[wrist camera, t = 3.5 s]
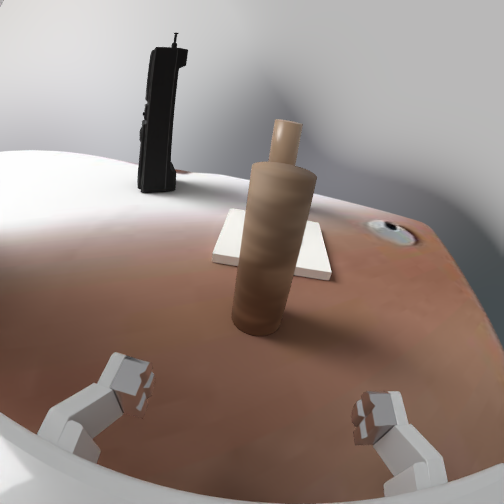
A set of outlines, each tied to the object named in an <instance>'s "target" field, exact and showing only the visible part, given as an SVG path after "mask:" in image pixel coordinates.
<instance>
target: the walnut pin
mask: <svg viewBox="0 0 504 504" xmlns="http://www.w3.org/2000/svg"><path fill="white" fill-rule="evenodd" d="M316 180H317V176H316V175H315V174H314V173H312V172H310V171H308V170H306V169H303V168H301V167H297V166H294V165H290V164H285V163H278V162H258V163H254V164H253V165H252V170H251V177H250V184H249V191H248V198H247V205H246V212H245V219H244V226H243V233H242V241H241V248H240V255H239V263H238V270H237V278H236V285H235V293H234V300H233V308H232V321H233V323H234V325H235V326H236V327H237V328H238V329H239V330H241V331H243V332H245V333H247V334H250V335H255V336H265V335H269V334H271V333H273V332H275V331H276V330H277V329H278V328H279V326H280V323H281V320H282V316H283V313H284V309H285V305H286V302H287V298H288V294H289V291H290V287H291V283H292V279H293V275H294V272H295V268H296V264H297V260H298V256H299V252H300V248H301V244H302V240H303V236H304V232H305V227H306V223H307V219H308V215H309V211H310V206H311V202H312V197H313V193H314V189H315V184H316Z"/></svg>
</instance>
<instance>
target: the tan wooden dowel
mask: <svg viewBox="0 0 504 504" xmlns="http://www.w3.org/2000/svg"><path fill="white" fill-rule="evenodd" d="M302 126H303V124H300V123H297V122H293V121H287V120H280V119H275V124H274V130H273V137H272V142H271V149H270V155H269V161H268V162H278V163H285V164H290V165H294V166H295V163H296V158H297V153H298V147H299V142H300V137H301V131H302Z"/></svg>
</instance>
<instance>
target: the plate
mask: <svg viewBox="0 0 504 504" xmlns="http://www.w3.org/2000/svg"><path fill="white" fill-rule="evenodd" d="M245 212H246V210H240V209H233V208H230V211H229V213H228V216H227V218H226V221H225V223H224V226H223V228H222V231H221V233H220V236H219V238H218V241H217V243H216V246H215V248H214V251H213V254H212V262H216V263H222V264H228V265H234V266H238V263H239V255H240V248H241V241H242V233H243V226H244V219H245ZM331 273H332V272H331V268H330V264H329V260H328V256H327V252H326V248H325V244H324V240H323V237H322V233H321V229H320V226H319V223H317V222H311V221H307V223H306V227H305V232H304V236H303V240H302V244H301V248H300V252H299V256H298V260H297V264H296V268H295V272H294V275H296V276H303V277H309V278H316V279H322V280H329V279H330V276H331Z"/></svg>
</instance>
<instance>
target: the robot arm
mask: <svg viewBox="0 0 504 504" xmlns="http://www.w3.org/2000/svg"><path fill="white" fill-rule="evenodd" d="M3 1H4V0H0V6H1V4H2V3H3ZM152 369H153V365H152V362H148V361H144V360H140V359H137V358H133V357H130V356H127V355H124V354H120V353H117V352H114V353H113V354H112V355H111V357H110V359H109V361H108V363H107V365H106V367H105V369H104V371H103V373H102V375H101V377H100V379H99V381H98V383H97V384H95V383H93V384H91V385H90V386H88V387H86V388H85V389H83V390H81V391H79V392H78V393H76V394H74V395H73V396H71V397H69V398H67V399H66V400H64V401H62V402H61V403H59V404H57V405H55V406H54V407H52V408H50V409H49V411H48V413H47V415H46V417H45V419H44V421H43V423H42V425H41V427H40V429H39V431H38V433H37V435H36V434H34V433H33V432H31V431H29V430H27V429H26V428H24V427H23V426H21V425H19V424H18V423H16V422H15V421H13V420H11V419H10V418H8V417H7V416H5V415H4V414H2V413H1V412H0V504H283V503H263V502H251V501H241V500H233V499H225V498H218V497H212V496H206V495H201V494H196V493H191V492H186V491H181V490H177V489H173V488H169V487H165V486H161V485H157V484H154V483H150V482H147V481H143V480H140V479H137V478H134V477H131V476H128V475H125V474H122V473H119V472H116V471H114V470H111V469H108V468H106V467H103V466H101V465H98V464H97V461H98V458H99V455H100V452H101V450H100V448H99V447H98V446H97V444H96V443H95V442H94V441H93V438H94V437H95V436H97V435H98V434H99V433H101V432H102V431H103V430H104V429H106V428H107V427H108V426H109V425H111V424H112V423H113V422H115V421H116V420H117V419H118V418H120V417H121V416H122V415H123V413H124V414H128V415H131V416H135V417H138V418H142V419H144V416H145V413H146V410H147V407H148V403H147V399H148V398H149V397H151V396H152V393H153V390H154V385H155V376H154V374H153V373H152ZM352 423H353V424H354V425H355V426H356V428H355V430H354V431H353V434H354V443H355V445H373V447H374V448H375V450H376V451H377V453H378V454H379V456H380V457H381V458H382V460H383V461H384V463H385V464H386V466H387V467H388V468H389V470H390V471H391V473H392V474H393V476H394V477H393V478H391V479H390V480H388V481H386V482H385V483H384V495H385V497H382V498H375V499H368V500H359V501H350V502H337V503H318V504H504V463H500V464H497V465H494V466H492V467H489V468H487V469H485V470H482V471H479V472H477V473H474V474H471V475H469V476H466V477H463V478H460V479H457V480H454V481H451V482H448V480H447V475H446V470H445V466H444V461H443V457H442V456H441V455H440V454H439V453H438V452H437V451H436V449H435V448H434V447H433V446H432V445H431V444H430V443H429V442H428V441H427V440H426V439H425V438H424V437H423V436H422V435H421V434H420V433H419V432H418V431H417V429H416V428H415V427H414V426H413V425H412V424H408V420H407V416H406V412H405V408H404V404H403V400H402V396H401V393H400V392H399V391H366V392H364V393H363V394H362V395H361V400H359V401H357V402H356V403H355V405H354V406H353V410H352Z"/></svg>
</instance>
